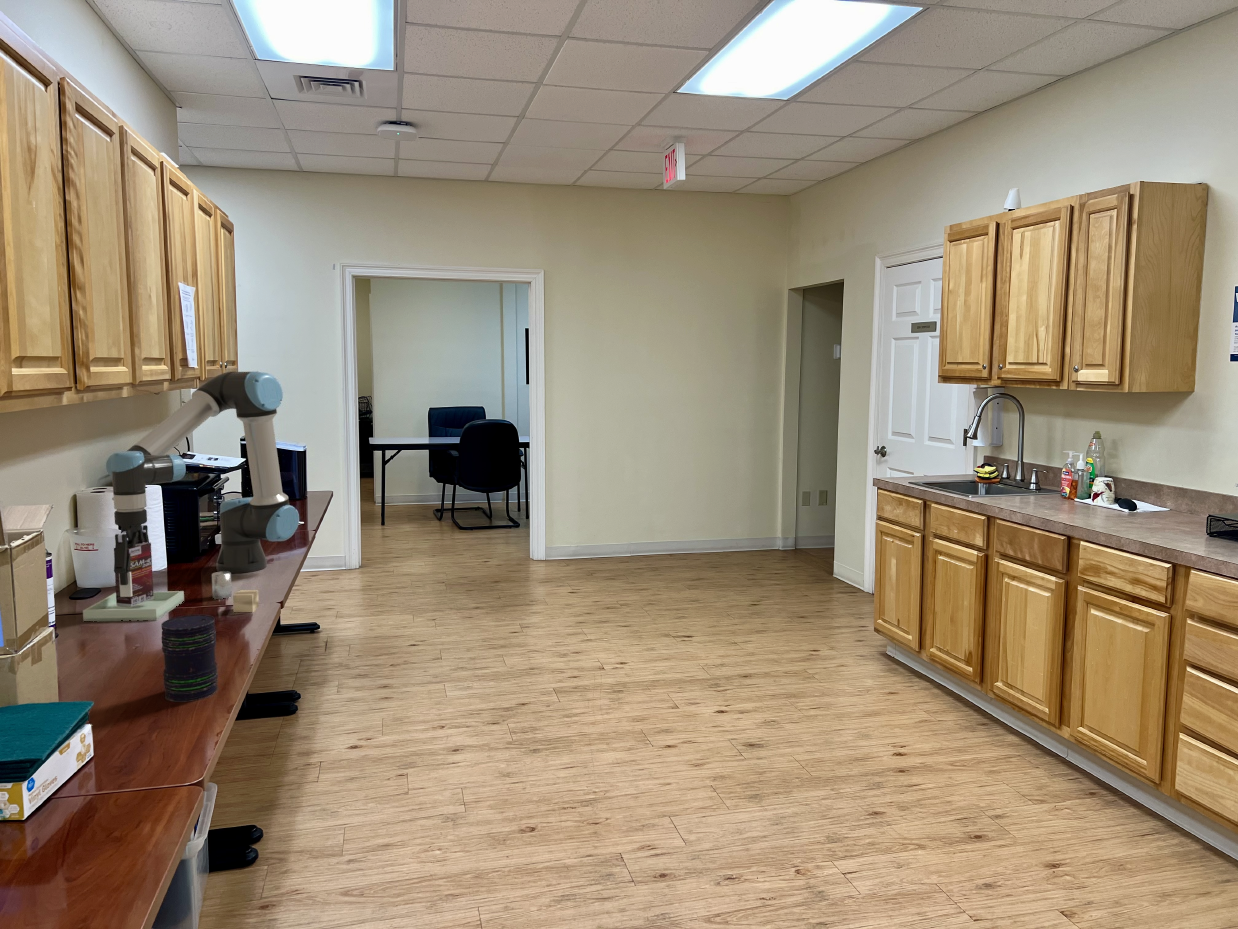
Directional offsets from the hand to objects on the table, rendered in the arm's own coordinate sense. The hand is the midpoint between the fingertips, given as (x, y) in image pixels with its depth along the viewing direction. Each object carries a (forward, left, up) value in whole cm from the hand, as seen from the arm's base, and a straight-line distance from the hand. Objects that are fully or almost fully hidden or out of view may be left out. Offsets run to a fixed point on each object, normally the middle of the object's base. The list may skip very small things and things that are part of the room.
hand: (135, 591), depth 230 cm
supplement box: (0, 0, -3) cm, 3 cm away
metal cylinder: (-13, +18, -6) cm, 23 cm away
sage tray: (0, 0, -5) cm, 5 cm away
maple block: (+1, +29, -6) cm, 30 cm away
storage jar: (+61, +37, -6) cm, 72 cm away
